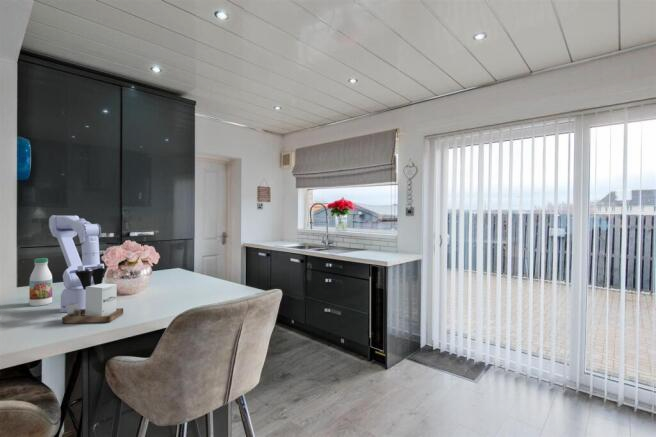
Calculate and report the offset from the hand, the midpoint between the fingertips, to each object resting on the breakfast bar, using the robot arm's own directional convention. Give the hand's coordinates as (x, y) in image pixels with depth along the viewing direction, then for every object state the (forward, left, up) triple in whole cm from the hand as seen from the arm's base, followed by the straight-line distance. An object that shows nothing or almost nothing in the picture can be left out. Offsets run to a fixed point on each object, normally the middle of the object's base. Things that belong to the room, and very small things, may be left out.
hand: (92, 288), depth 135 cm
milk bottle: (-30, +18, -11) cm, 37 cm away
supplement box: (+6, -5, -11) cm, 13 cm away
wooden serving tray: (+3, -5, -11) cm, 12 cm away
